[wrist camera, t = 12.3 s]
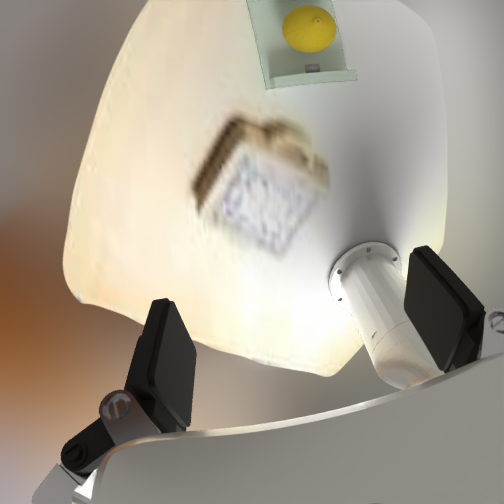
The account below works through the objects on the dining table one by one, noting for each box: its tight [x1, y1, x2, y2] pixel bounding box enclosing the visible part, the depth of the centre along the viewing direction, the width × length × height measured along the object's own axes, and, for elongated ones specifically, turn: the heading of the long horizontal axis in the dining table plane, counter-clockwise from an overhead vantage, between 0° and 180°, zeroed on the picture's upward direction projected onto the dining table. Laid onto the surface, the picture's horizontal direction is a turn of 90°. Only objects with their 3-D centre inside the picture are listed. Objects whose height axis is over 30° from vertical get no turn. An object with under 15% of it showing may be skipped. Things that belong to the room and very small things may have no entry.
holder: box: [246, 0, 357, 90], centre depth 26 cm, size 13×10×5 cm
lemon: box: [282, 5, 337, 53], centre depth 24 cm, size 6×6×8 cm
